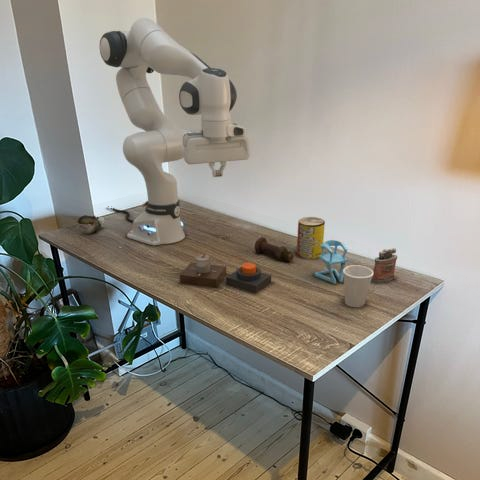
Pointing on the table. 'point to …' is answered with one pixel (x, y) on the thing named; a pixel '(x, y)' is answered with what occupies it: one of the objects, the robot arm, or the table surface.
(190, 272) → the dial base
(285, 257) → the bolt
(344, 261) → the chair
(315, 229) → the beverage can
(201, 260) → the knob
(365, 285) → the dixie cup
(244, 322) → the table surface
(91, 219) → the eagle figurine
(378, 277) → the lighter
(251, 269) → the button
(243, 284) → the button box
